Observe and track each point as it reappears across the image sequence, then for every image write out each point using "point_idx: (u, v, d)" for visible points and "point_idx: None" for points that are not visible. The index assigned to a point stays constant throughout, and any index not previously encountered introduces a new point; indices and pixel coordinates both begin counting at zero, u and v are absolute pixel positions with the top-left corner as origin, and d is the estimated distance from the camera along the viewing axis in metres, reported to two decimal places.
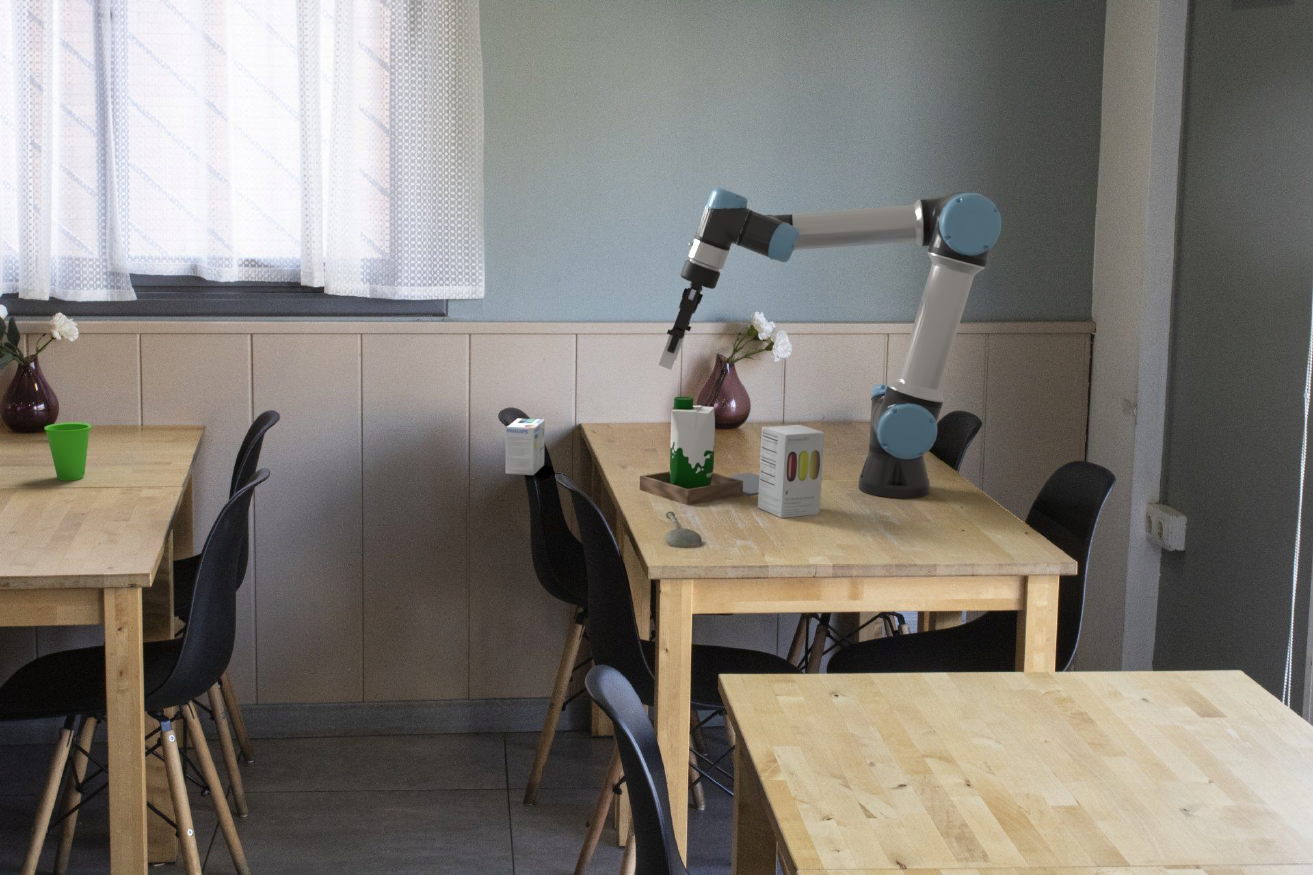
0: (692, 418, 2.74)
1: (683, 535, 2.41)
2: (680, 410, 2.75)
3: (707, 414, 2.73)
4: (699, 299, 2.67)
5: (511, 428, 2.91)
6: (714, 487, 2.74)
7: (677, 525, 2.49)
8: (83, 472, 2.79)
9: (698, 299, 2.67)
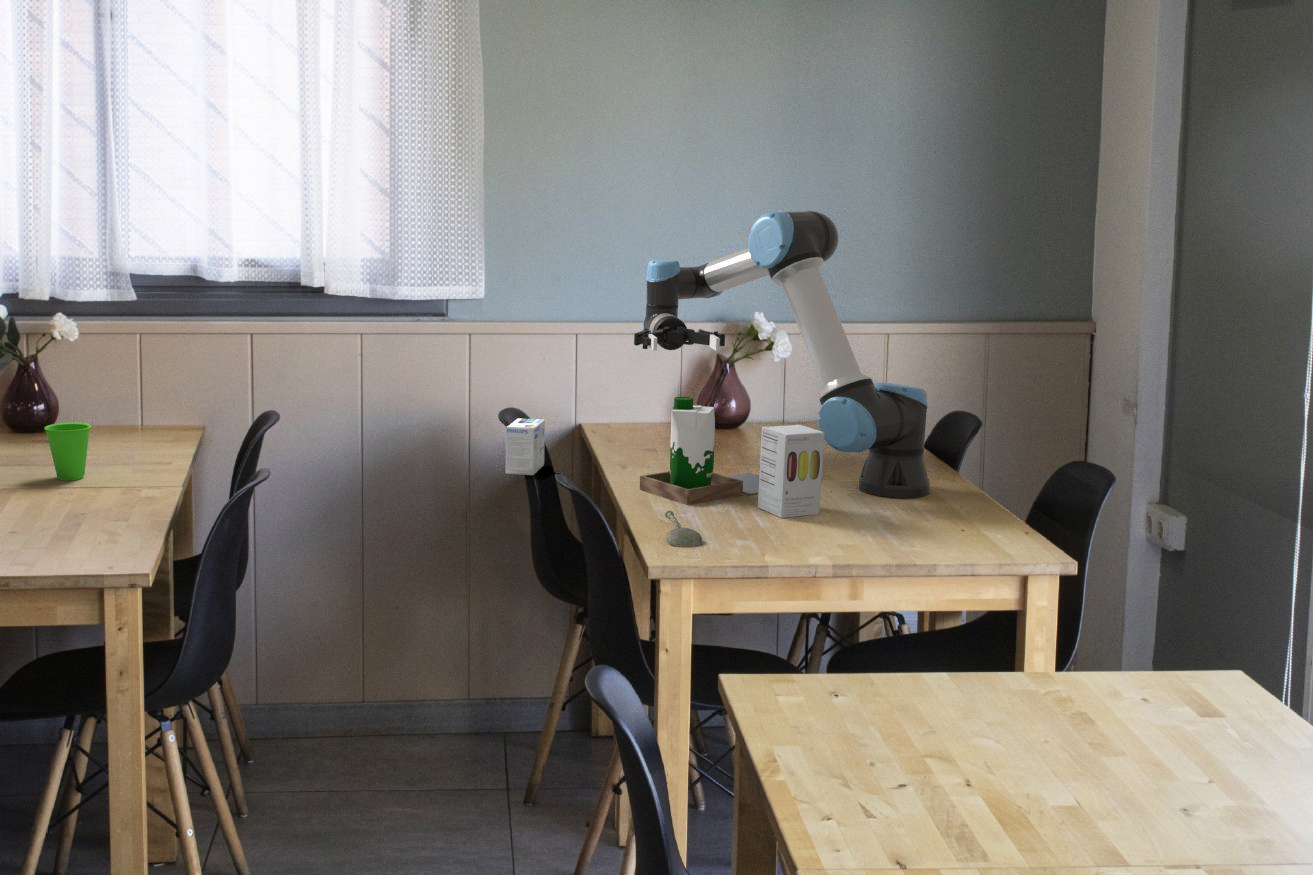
0: (692, 418, 2.74)
1: (684, 535, 2.41)
2: (680, 410, 2.75)
3: (707, 414, 2.73)
4: None
5: (511, 428, 2.91)
6: (714, 487, 2.74)
7: (677, 524, 2.49)
8: (83, 472, 2.79)
9: None
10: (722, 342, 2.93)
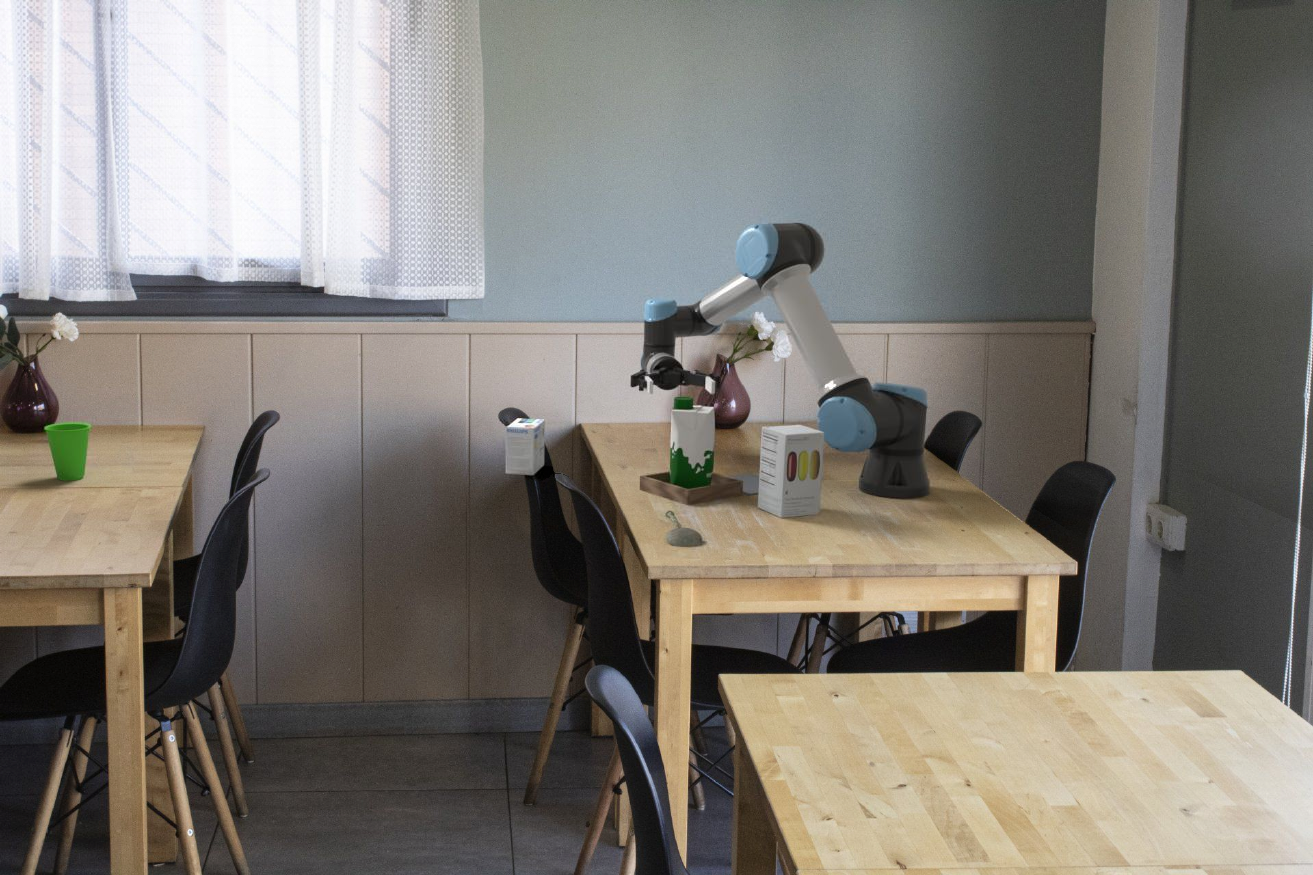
0: (692, 418, 2.74)
1: (684, 534, 2.42)
2: (680, 410, 2.75)
3: (707, 414, 2.73)
4: None
5: (511, 428, 2.91)
6: (714, 487, 2.74)
7: (677, 524, 2.50)
8: (83, 472, 2.79)
9: None
10: (718, 384, 2.96)
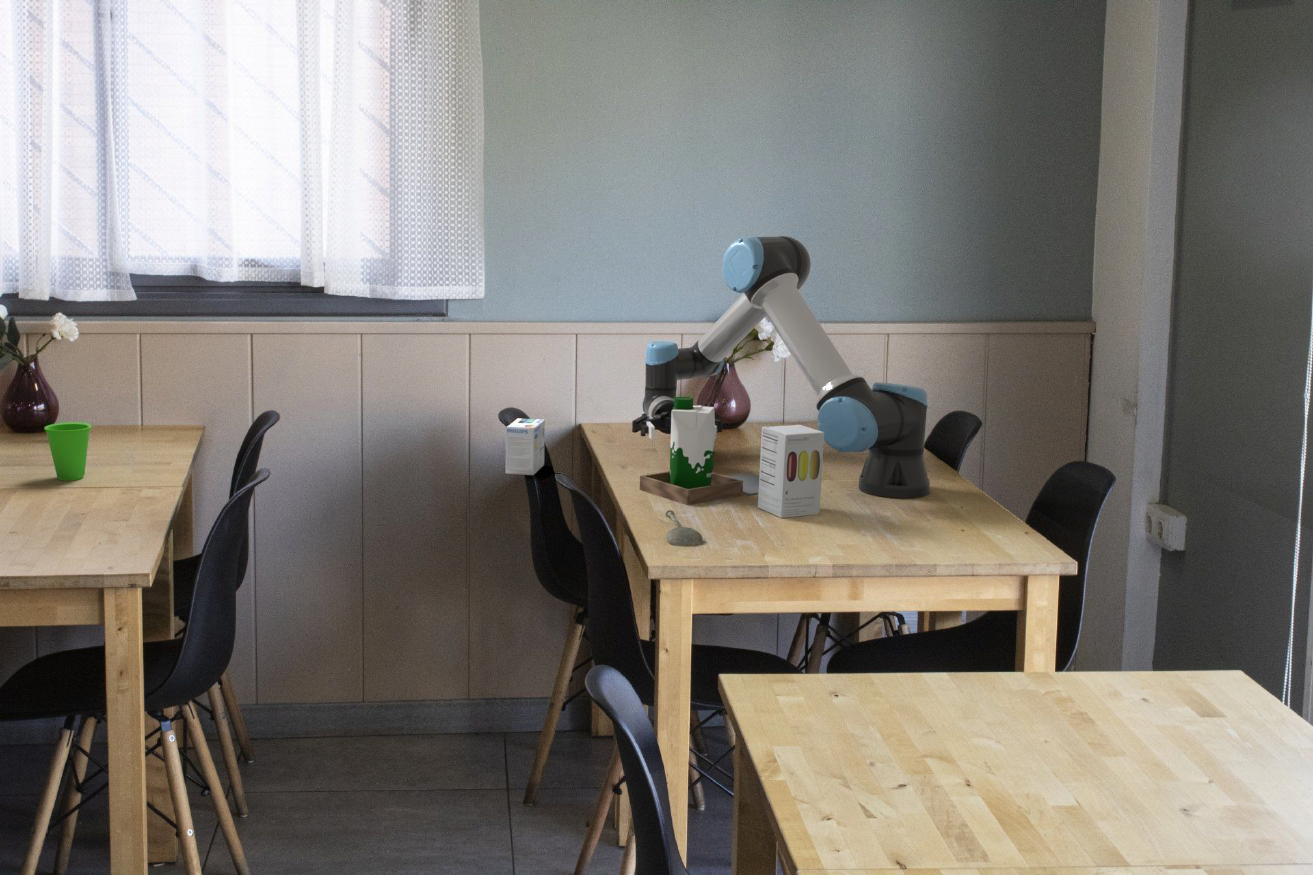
0: (692, 418, 2.74)
1: (684, 534, 2.42)
2: (680, 410, 2.75)
3: (707, 414, 2.73)
4: None
5: (511, 428, 2.91)
6: (714, 487, 2.74)
7: (677, 524, 2.50)
8: (83, 472, 2.79)
9: None
10: (719, 428, 2.96)
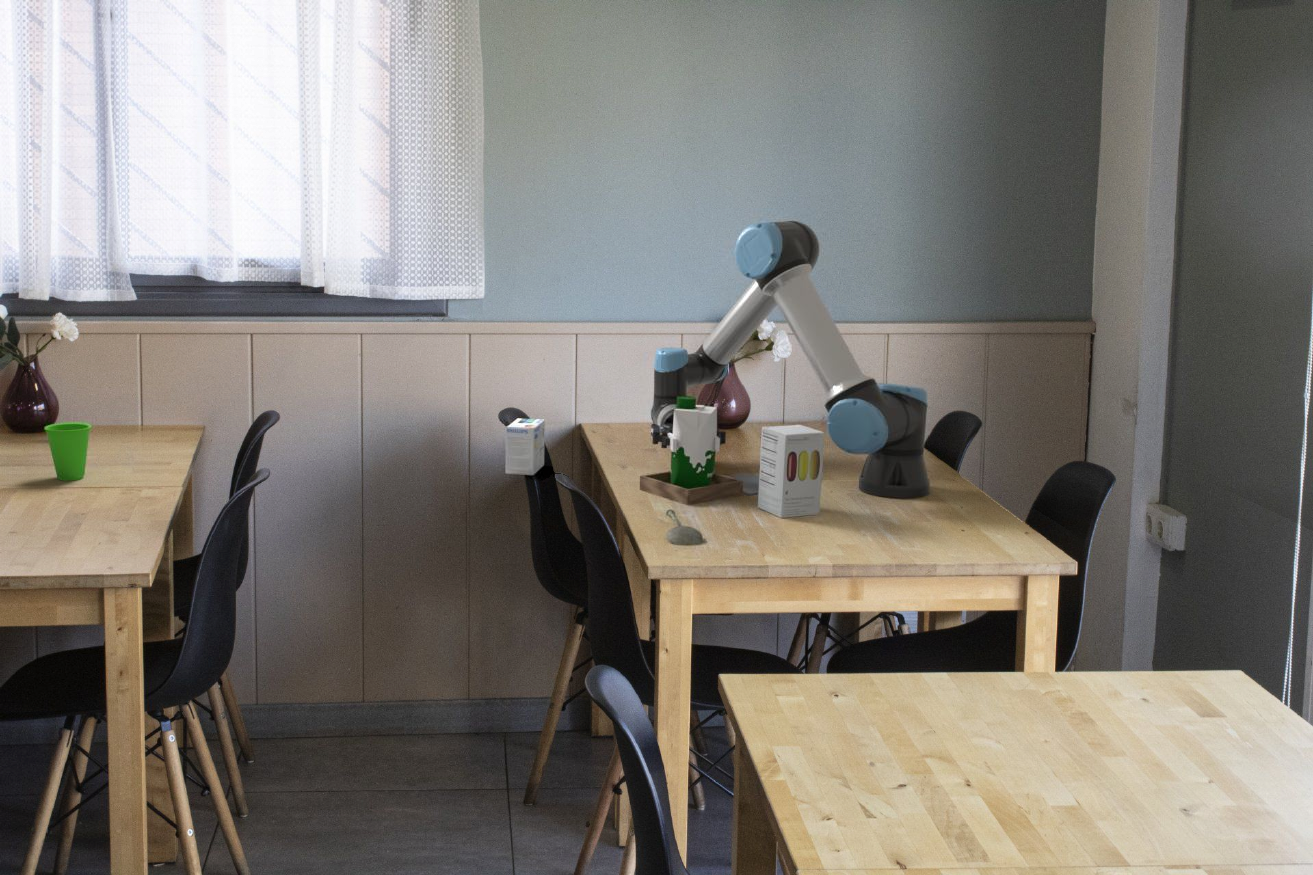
0: (694, 418, 2.73)
1: (684, 533, 2.43)
2: (683, 409, 2.75)
3: (710, 414, 2.73)
4: None
5: (511, 428, 2.91)
6: (714, 487, 2.74)
7: (678, 523, 2.51)
8: (83, 472, 2.79)
9: None
10: (722, 440, 2.82)
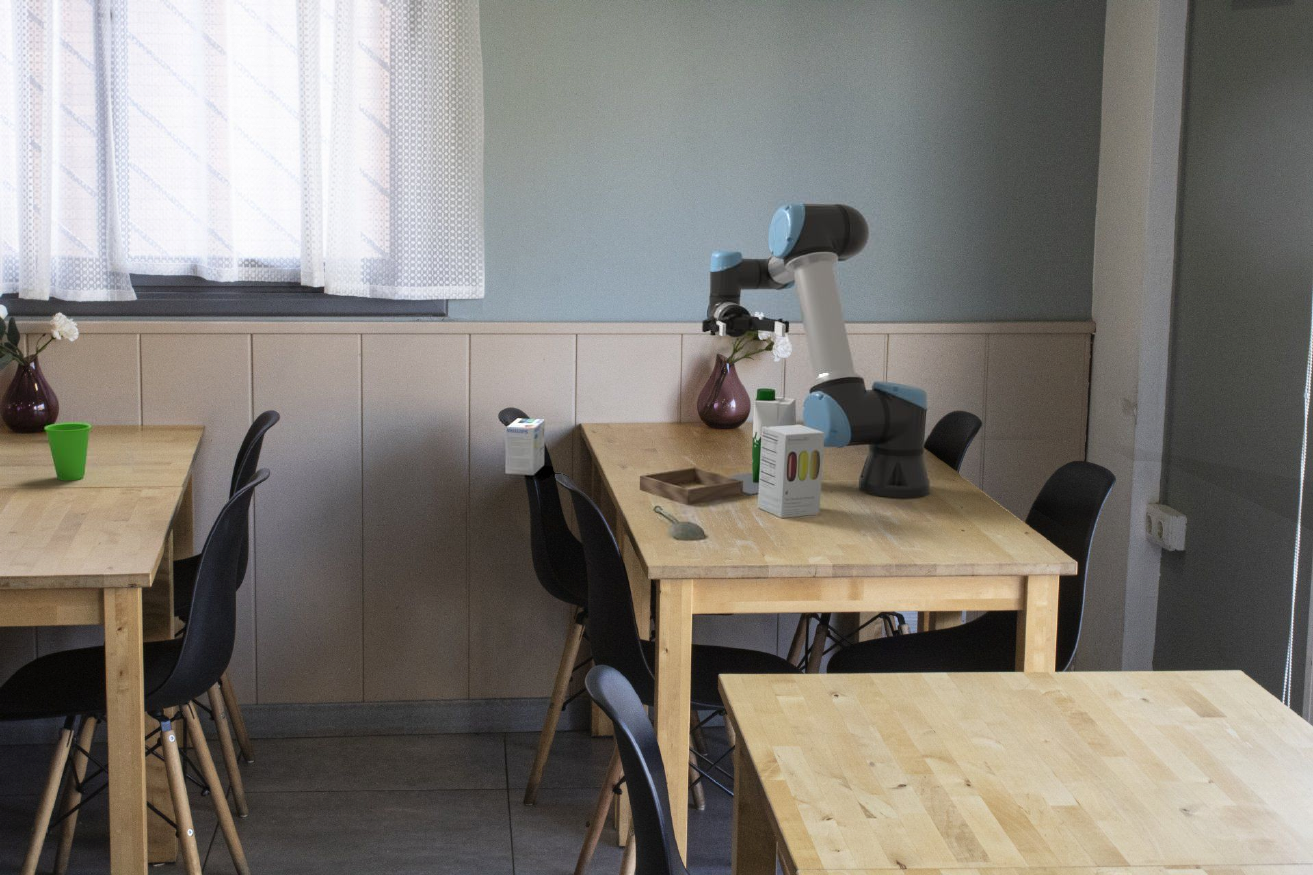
0: (774, 409, 2.85)
1: (687, 528, 2.46)
2: (763, 401, 2.87)
3: (788, 405, 2.84)
4: None
5: (511, 428, 2.91)
6: (714, 487, 2.74)
7: (674, 518, 2.54)
8: (83, 472, 2.79)
9: None
10: (786, 329, 3.05)
